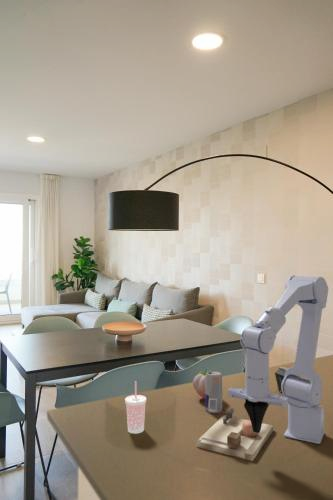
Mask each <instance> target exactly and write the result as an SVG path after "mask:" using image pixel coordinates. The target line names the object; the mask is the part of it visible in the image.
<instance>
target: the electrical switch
mask: <svg viewBox="0 0 333 500" xmlns="http://www.w3.org/2000/svg"><path fill="white" fill-rule="evenodd" d="M287 369H288V368H287V367H284V366H278V369H277V370H276V371H275V372H274V375H275V381H276V385H277V389H278V392H280V391H281V392H282V390H281V384H282V381H283V379H284V377H285V373H286V370H287ZM297 377H298V378H301V377H300V376H297ZM281 392H280V393H281Z"/></svg>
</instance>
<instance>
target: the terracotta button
mask: <svg viewBox="0 0 333 500" xmlns="http://www.w3.org/2000/svg"><path fill="white" fill-rule="evenodd" d="M241 436H245V437H249V438H254V437H255V438H256V437H257V436H256V432H253V428H252V424H251V420H249V421H244V422H242V435H241Z"/></svg>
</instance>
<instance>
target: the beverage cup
mask: <svg viewBox="0 0 333 500" xmlns="http://www.w3.org/2000/svg"><path fill="white" fill-rule="evenodd" d="M137 390H138V389H137V380H135V381H134V394H131V395H128V396H126V397H125V398H124V402H125V406H126V407H125V408H126V422H127V432H128V433H129V434H140V433H143V432H144V431H145V420H146V419H145V417H146V403H147V397H146V396H145V395H141V394H137Z"/></svg>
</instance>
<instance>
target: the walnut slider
mask: <svg viewBox="0 0 333 500" xmlns="http://www.w3.org/2000/svg"><path fill="white" fill-rule="evenodd" d="M241 436H242V435H241V434H239V433H234V432H231V433H230V434H229V435H228V436H227V446H228V447H232V448H236V449H237V448H238V447H239V445H240V444H241Z"/></svg>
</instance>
